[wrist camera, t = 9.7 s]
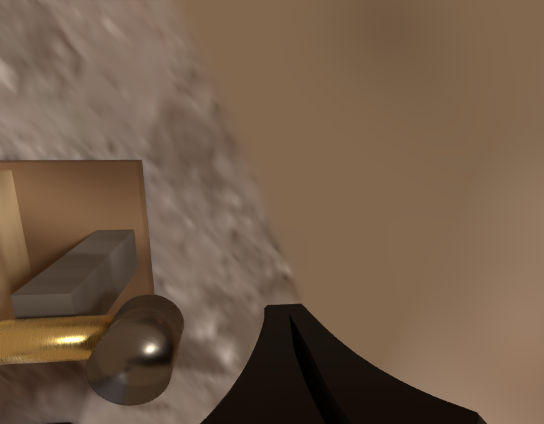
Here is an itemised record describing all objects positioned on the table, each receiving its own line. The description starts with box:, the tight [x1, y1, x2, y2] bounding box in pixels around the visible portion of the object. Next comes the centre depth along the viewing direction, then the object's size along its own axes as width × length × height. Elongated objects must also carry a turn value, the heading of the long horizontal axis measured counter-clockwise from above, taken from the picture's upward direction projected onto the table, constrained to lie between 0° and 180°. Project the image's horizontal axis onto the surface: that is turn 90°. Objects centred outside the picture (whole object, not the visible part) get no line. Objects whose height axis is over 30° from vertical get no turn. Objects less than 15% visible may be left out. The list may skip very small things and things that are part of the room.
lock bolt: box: [0, 295, 184, 406], centre depth 11 cm, size 2×9×2 cm, turn 90°
